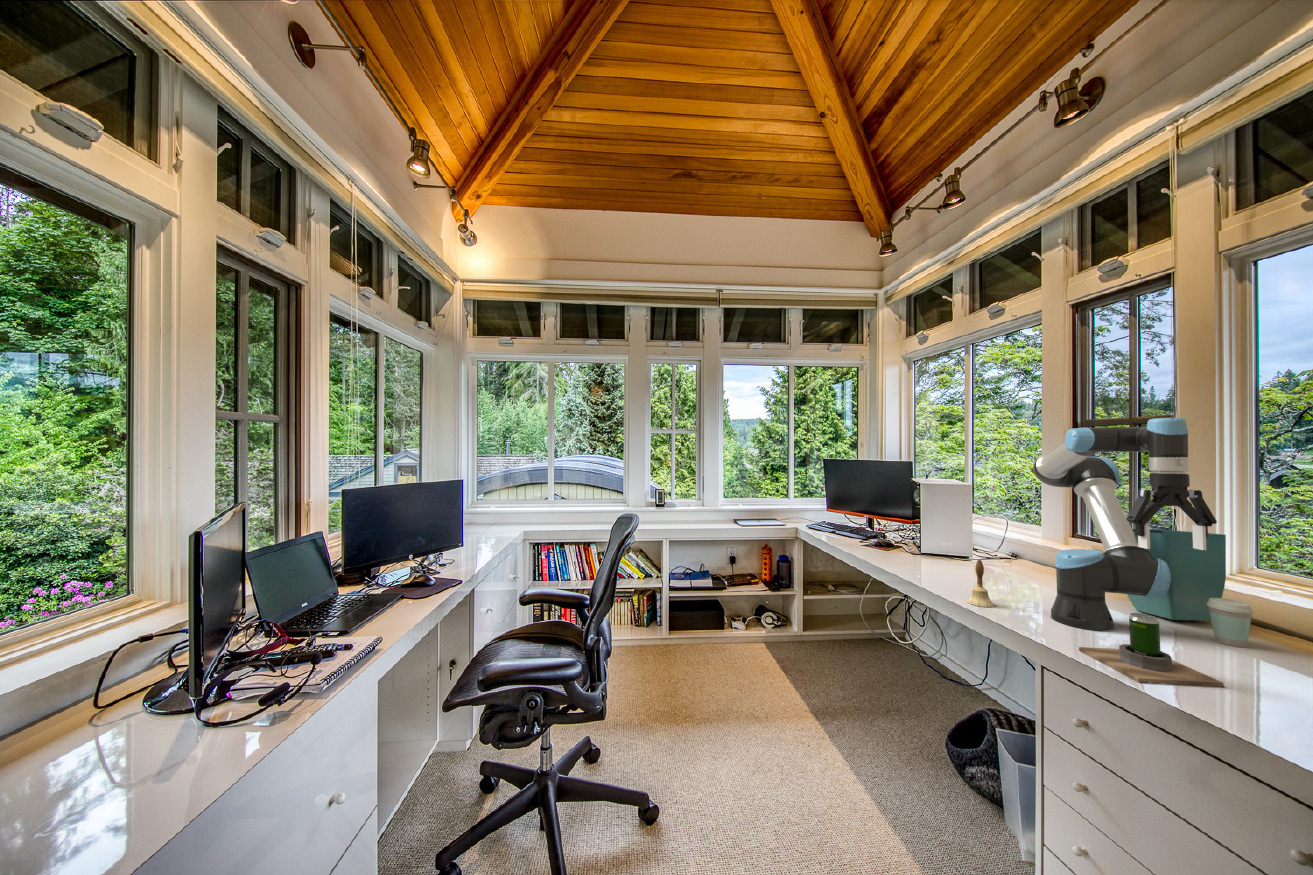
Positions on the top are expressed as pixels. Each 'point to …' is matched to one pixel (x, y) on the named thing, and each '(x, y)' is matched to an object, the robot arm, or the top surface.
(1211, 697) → the top surface
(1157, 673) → the collar holder
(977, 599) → the hand bell
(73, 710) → the top surface
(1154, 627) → the beer can
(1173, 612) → the flower pot
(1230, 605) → the coffee cup
